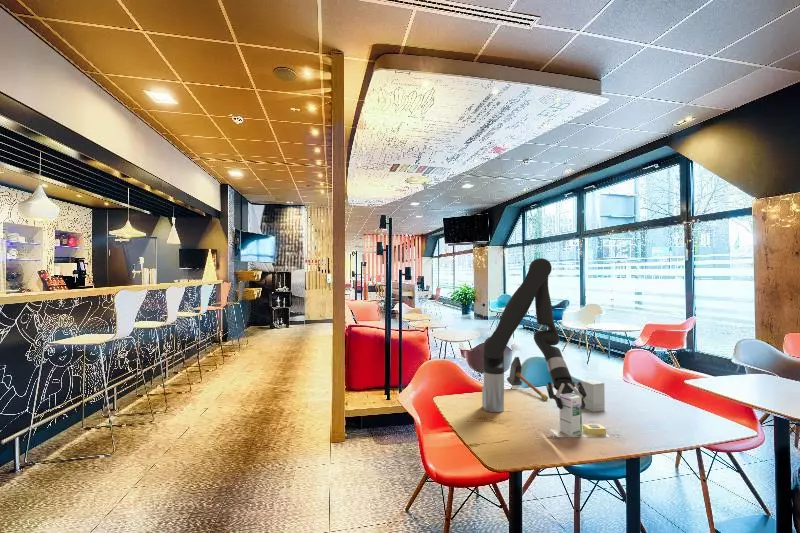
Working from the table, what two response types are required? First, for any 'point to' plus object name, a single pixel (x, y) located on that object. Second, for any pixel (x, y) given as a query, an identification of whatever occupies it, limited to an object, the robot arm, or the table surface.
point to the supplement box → (594, 395)
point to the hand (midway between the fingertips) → (572, 408)
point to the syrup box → (571, 414)
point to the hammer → (521, 377)
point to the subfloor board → (561, 434)
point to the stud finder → (594, 429)
